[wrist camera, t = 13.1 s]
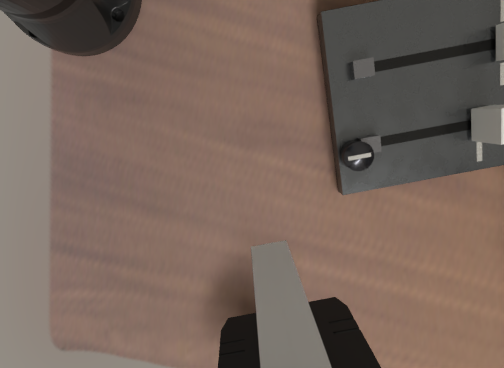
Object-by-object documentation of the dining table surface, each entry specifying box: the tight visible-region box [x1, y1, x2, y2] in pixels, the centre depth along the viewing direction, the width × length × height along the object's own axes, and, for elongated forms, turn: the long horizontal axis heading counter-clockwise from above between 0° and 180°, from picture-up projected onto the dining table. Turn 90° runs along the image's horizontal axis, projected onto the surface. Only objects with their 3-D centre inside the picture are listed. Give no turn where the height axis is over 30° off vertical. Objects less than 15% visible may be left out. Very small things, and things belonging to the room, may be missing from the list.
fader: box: [471, 105, 504, 145], centre depth 36 cm, size 4×2×5 cm, turn 10°
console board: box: [317, 0, 504, 195], centre depth 37 cm, size 22×30×4 cm
